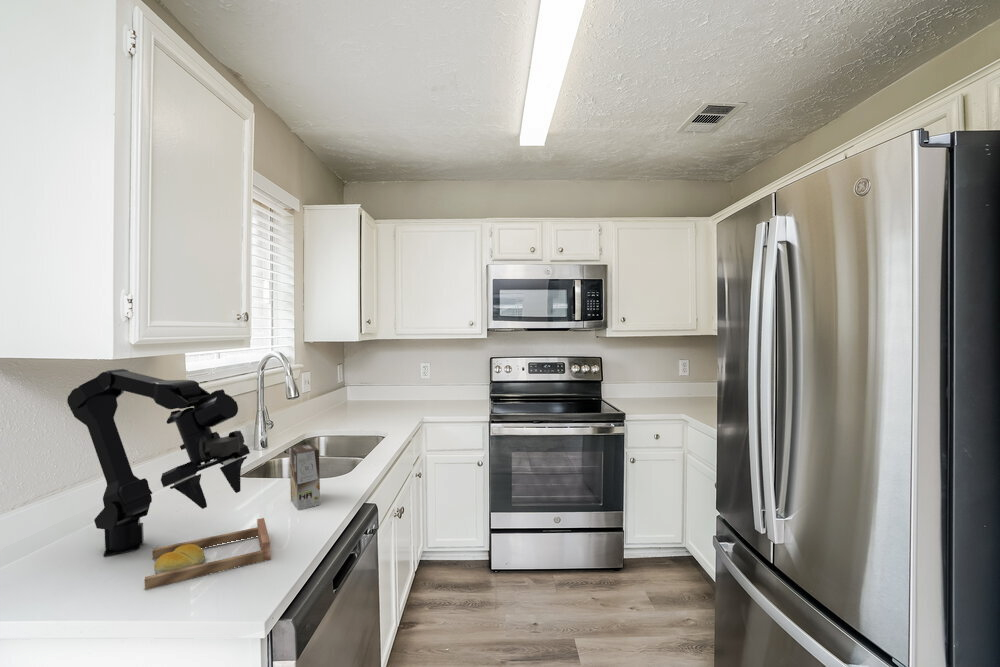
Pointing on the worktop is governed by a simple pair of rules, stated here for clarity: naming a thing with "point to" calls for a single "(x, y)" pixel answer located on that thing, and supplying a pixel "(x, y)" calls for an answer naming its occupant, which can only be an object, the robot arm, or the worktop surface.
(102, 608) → the worktop surface
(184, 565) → the bread roll
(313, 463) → the coffee box
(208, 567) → the guide channel
